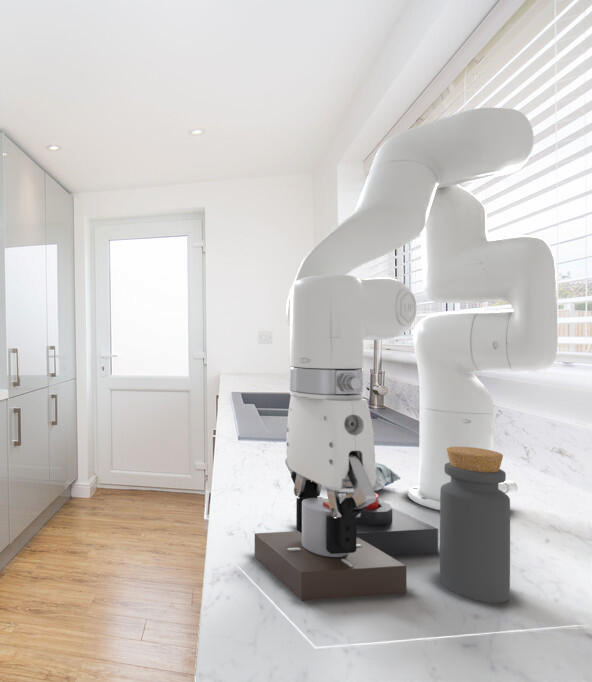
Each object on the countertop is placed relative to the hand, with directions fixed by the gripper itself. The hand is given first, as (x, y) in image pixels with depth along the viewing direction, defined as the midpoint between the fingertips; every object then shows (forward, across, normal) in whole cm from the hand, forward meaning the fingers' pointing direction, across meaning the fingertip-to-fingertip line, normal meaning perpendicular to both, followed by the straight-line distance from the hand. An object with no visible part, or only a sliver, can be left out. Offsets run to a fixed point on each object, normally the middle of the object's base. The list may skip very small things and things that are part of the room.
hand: (324, 539), depth 55 cm
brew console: (+4, 0, 0) cm, 4 cm away
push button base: (+4, +8, -11) cm, 14 cm away
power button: (-1, +8, -11) cm, 14 cm away
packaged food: (+4, +29, -26) cm, 39 cm away
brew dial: (+1, 0, 0) cm, 1 cm away
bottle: (+4, -5, -14) cm, 15 cm away
